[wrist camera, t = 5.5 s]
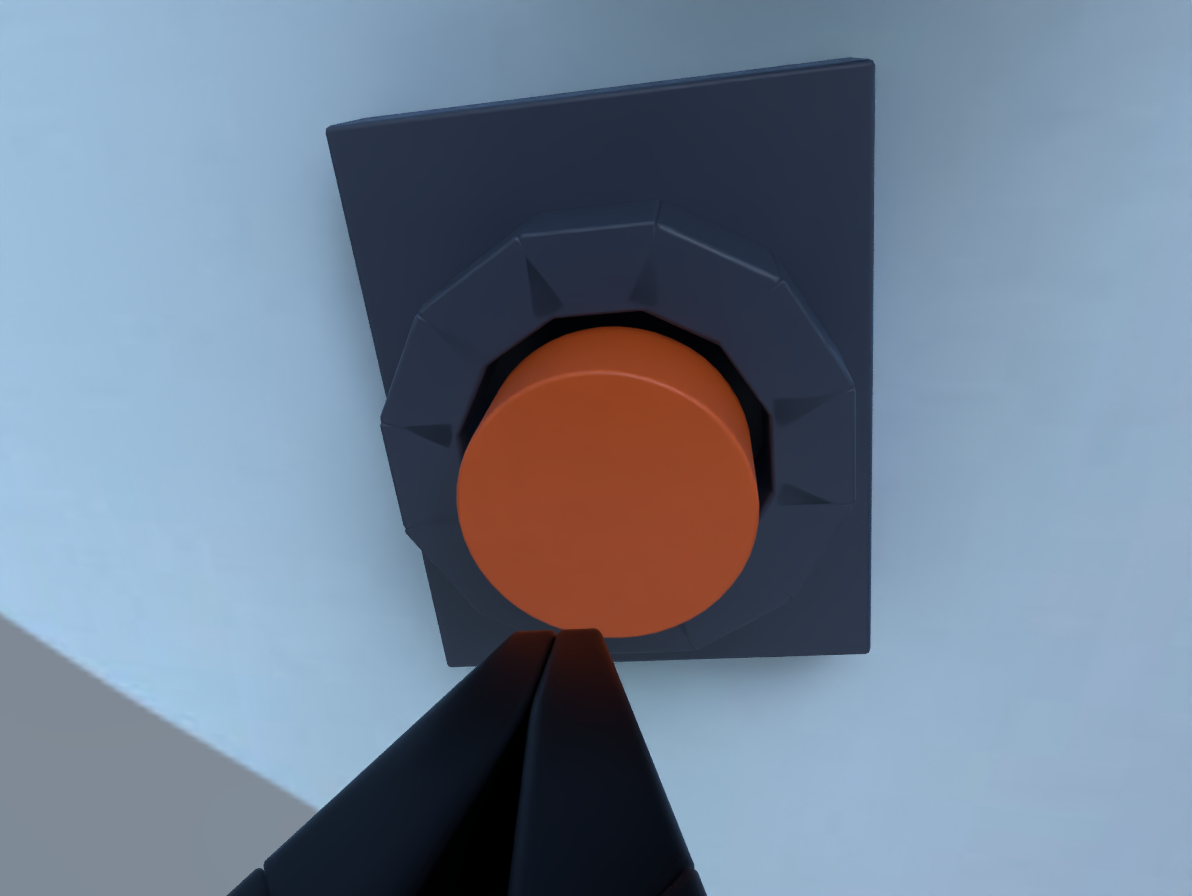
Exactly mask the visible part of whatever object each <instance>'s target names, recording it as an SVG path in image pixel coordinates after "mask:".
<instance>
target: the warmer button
mask: <svg viewBox="0 0 1192 896" xmlns="http://www.w3.org/2000/svg"><path fill="white" fill-rule="evenodd" d="M457 511H458V518H459V523H460V527H461V530H462V534H463V537H464V540H465V542H466V545H467V547H468V549H469V552H470V554H471V556H472V557H473V559H474V561H475V562H476V564H477V566H478V568H479V569H480V571H481V572H482V573H483V574H484V576H485V577H486V578H487V580H488V581H489V582H490V583H491V585H492V586H493V587H494V588H495V589H496V590H497V591H498V592H499V593H500V594H501V595H502V596H503V597H505V598H506V599H507V600H509V601H510V602H511V603H512V604H514V605H515V606H516V607H517V608H519V609H521V610H522V611H524V612H525V613H527V614H529V615H530V616H532V617H534V618H536V619H538V620H540V621H542V622H544V623H546V624H548V625H550V626H553V627H556V628H559V629H562V630H564V629H586V628H596V629H598V630H599V631H600V632H601V633H602V636H603V638H628V637H639V636H644V635H649V634H654V633H658V632H661V631H664V630H667V629H670V628H673V627H676V626H678V625H680V624H682V623H684V622H686V621H689V620H691V619H692V618H694V617H695V616H697V615H699V614H700V613H702V612H704V611H705V610H706V609H708V608H709V607H710V606H711V605H713V604H714V603H715V602H716V601H717V600H719V599H720V598H721V597H722V595H723V594H724V593H725V592H726V591H727V590H728V589H729V588H730V587H731V586H732V585H733V583H734V582H735V580H736V579H737V578H738V576H739V575H740V573H741V572H742V570H743V568H744V566H745V564H746V562H747V561H748V559H749V557H750V554H751V551H752V548H753V545H754V542H755V539H756V535H757V529H758V523H759V497H758V489H757V482H756V475H755V467H754V460H753V453H752V446H751V439H750V432H749V427H748V424H747V420H746V416H745V413H744V411H743V409H742V406H741V404H740V402H739V400H738V398H737V396H736V394H735V393H734V391H733V389H732V388H731V386H730V385H729V383H728V382H727V381H726V380H725V378H724V377H723V376H722V375H721V374H720V372H719V371H718V370H717V369H716V368H715V367H714V366H713V365H712V364H711V363H709V362H708V361H707V360H706V359H705V358H704V357H702V356H701V355H700V354H698V353H697V352H695V351H694V350H693V349H691V348H690V347H688V346H686V345H684V344H682V343H680V342H678V341H676V340H674V339H672V338H670V337H667V336H664V335H662V334H659V333H656V332H652V331H648V330H643V329H639V328H631V327H622V326H609V327H596V328H589V329H583V330H579V331H576V332H572V333H569V334H565V335H563V336H561V337H558V338H556V339H554V340H552V341H549V342H548V343H546V344H544V345H543V346H541V347H539V348H538V349H536V350H535V351H533V352H532V353H531V354H530V355H528V356H527V357H526V358H525V359H523V360H522V361H521V362H520V363H519V364H518V365H517V366H516V368H515V369H514V370H513V371H512V372H511V373H510V374H509V376H508V377H507V379H506V380H505V381H504V383H503V384H502V386H501V387H500V389H499V391H498V392H497V394H496V396H495V398H494V399H493V401H492V403H491V405H490V407H489V408H488V410H487V412H486V414H485V415H484V417H483V419H482V421H481V422H480V424H479V426H478V428H477V429H476V431H475V433H474V435H473V436H472V438H471V440H470V442H469V444H468V447H467V449H466V451H465V453H464V456H463V459H462V462H461V465H460V469H459V475H458V481H457Z"/></svg>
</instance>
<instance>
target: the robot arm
mask: <svg viewBox="0 0 1192 896" xmlns="http://www.w3.org/2000/svg"><path fill="white" fill-rule="evenodd" d="M227 896H707V894H706V892H705V889H704V887H703V884H702V882H701V879H700V877H699V874H698V872H697V871H696V870H695V869H694V863H693V861H692V858H691V856H690V853H689V851H688V848H687V846H686V843H685V841H684V838H683V836H682V833H681V831H680V828H679V826H678V823H677V821H676V818H675V816H674V813H673V811H672V808H671V806H670V803H669V801H668V798H667V796H666V793H665V791H664V788H663V786H662V783H661V781H660V778H659V776H658V773H657V771H656V768H655V766H654V763H653V761H652V758H651V756H650V753H649V751H648V748H647V746H646V743H645V741H644V738H643V736H642V733H641V731H640V728H639V726H638V723H637V721H636V718H635V716H634V713H633V711H632V708H631V706H630V703H629V701H628V698H627V696H626V693H625V691H624V688H623V686H622V683H621V681H620V678H619V676H618V673H617V671H616V668H615V666H614V663H613V661H612V658H611V656H610V653H609V651H608V648H607V646H606V643H605V641H604V638H603V636H602V633H601V632H600V631H599V630H598V629H596V628H586V629H564V630H561V631H560V632H558V634H556V633H555V632H554V631H552V630H535V631H518V632H515V633H513V634H512V635H511V636H509V637H508V638H507V639H506V640H505V641H504V642H503V643H502V644H501V645H500V646H498V647H497V648H496V649H495V650H494V651H493V652H492V653H491V654H490V655H489V656H488V657H486V658H485V659H484V660H483V661H482V662H481V663H480V664H479V665H478V666H477V667H476V668H475V669H473V670H472V671H471V672H470V673H469V674H468V675H467V676H466V677H465V678H464V679H463V680H461V681H460V682H459V683H458V684H457V685H456V686H455V687H454V688H453V689H452V690H451V691H449V692H448V693H447V694H446V695H445V696H444V697H443V698H442V699H441V700H440V701H439V702H437V703H436V704H435V705H434V706H433V707H432V708H431V709H430V710H429V711H428V712H427V713H426V714H424V715H423V716H422V717H421V718H420V719H419V720H418V721H417V722H416V723H415V724H414V725H412V726H411V727H410V728H409V729H408V730H407V731H406V732H405V733H404V734H403V735H402V736H400V737H399V738H398V739H397V740H396V741H395V742H394V743H393V744H392V745H391V746H390V747H389V748H387V749H386V750H385V751H384V752H383V753H382V754H381V755H380V756H379V757H378V758H377V759H375V760H374V761H373V762H372V763H371V764H370V765H369V766H368V767H367V768H366V769H365V770H363V771H362V772H361V773H360V774H359V775H358V776H357V777H356V778H355V779H354V780H353V781H351V782H350V783H349V784H348V785H347V786H346V787H345V788H344V789H343V790H342V791H341V792H340V793H338V794H337V795H336V796H335V797H334V798H333V799H332V800H331V801H330V802H329V803H328V804H326V805H325V806H324V807H323V808H322V809H321V810H320V811H319V812H318V813H317V814H316V815H314V816H313V817H312V818H311V819H310V820H309V821H308V822H307V823H306V824H305V825H304V826H303V827H301V828H300V829H299V830H298V831H297V832H296V833H295V834H294V835H293V836H292V837H291V838H290V839H288V840H287V841H286V842H285V843H284V844H283V845H282V846H281V847H280V848H279V849H277V851H275V852H274V853H273V854H272V855H271V856H270V857H269V858H268V859H267V860H266V861H265V862H264V870H263V869H261V868H258V869H255V870H254V871H253V872H252V873H251V874H250V875H249V876H248V877H247V878H246V879H244V880H243V881H242V882H241V883H240V884H239V885H238V886H237V887H236V888H235V889H233V890H232V891H231V892H230V893H229V894H228V895H227Z"/></svg>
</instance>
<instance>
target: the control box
mask: <svg viewBox="0 0 1192 896" xmlns="http://www.w3.org/2000/svg"><path fill="white" fill-rule="evenodd" d="M326 136H327V141H328V145H329V150H330V154H331V158H332V163H333V167H334V171H335V176H336V180H337V184H338V189H339V193H340V198H341V202H342V206H343V211H344V215H345V219H346V224H347V228H348V232H349V237H350V241H351V246H352V250H353V254H354V259H355V263H356V267H357V272H358V276H359V280H360V285H361V289H362V294H363V298H364V302H365V307H366V311H367V315H368V320H369V324H370V328H371V333H372V337H373V341H374V346H375V350H376V355H377V359H378V363H379V368H380V372H381V376H382V381H383V385H384V389H385V394H386V398H387V399H386V402H385V404H384V407H383V410H382V413H381V416H380V417H381V425H380V427H381V431H382V436H383V440H384V444H385V448H386V453H387V457H388V461H389V465H390V470H391V474H392V478H393V482H394V487H395V491H396V495H397V499H398V504H399V508H400V512H401V516H402V521H403V525H404V527H405V528H406V529H405V532H406V534H407V535H408V536H409V537H410V538H411V539H412V540H413V541H414V543H415V544H416V545H417V546H418V547H419V548H420V549H421V551H422V555H423V560H424V564H425V568H426V573H427V577H428V581H429V586H430V590H431V595H432V599H433V603H434V608H435V612H436V616H437V621H438V625H439V629H440V634H441V638H442V643H443V647H444V651H445V656H446V660H447V664H448V666H450V667H469V666H478V665H479V664H480V663H481V662H482V661H483V660H484V659H485V658H486V657H488V656H489V655H490V654H491V653H492V652H493V651H494V650H495V649H496V648H497V647H498V646H500V645H501V644H502V643H503V642H504V641H505V640H506V639H507V638H508V637H509V636H511V635H512V634H513V633H515V632H518V631H535V630H552V631H554V632H555V633H556V634H558V632H560V631H561V630H562V629H559V628H556V627H553V626H550V625H548V624H546V623H544V622H542V621H540V620H538V619H536V618H534V617H532V616H530V615H529V614H527V613H525V612H524V611H522V610H521V609H519V608H517V607H516V606H515V605H514V604H512V603H511V602H510V601H509V600H507V599H506V598H505V597H503V596H502V595H501V594H500V593H499V592H498V591H497V590H496V589H495V588H494V587H493V586H492V585H491V583H490V582H489V581H488V580H487V578H486V577H485V576H484V574H483V573H482V572H481V571H480V569H479V568H478V566H477V564H476V562H475V561H474V559H473V557H472V556H471V554H470V552H469V549H468V547H467V545H466V542H465V540H464V537H463V534H462V530H461V527H460V523H459V518H458V511H457V481H458V475H459V469H460V465H461V462H462V459H463V456H464V453H465V451H466V449H467V447H468V444H469V442H470V440H471V438H472V436H473V435H474V433H475V431H476V429H477V428H478V426H479V424H480V422H481V421H482V419H483V417H484V415H485V414H486V412H487V410H488V408H489V407H490V405H491V403H492V401H493V399H494V398H495V396H496V394H497V392H498V391H499V389H500V387H501V386H502V384H503V383H504V381H505V380H506V379H507V377H508V376H509V374H510V373H511V372H512V371H513V370H514V369H515V368H516V366H517V365H518V364H519V363H520V362H521V361H522V360H523V359H525V358H526V357H527V356H528V355H530V354H531V353H532V352H533V351H535V350H536V349H538V348H539V347H541V346H543V345H544V344H546V343H548V342H549V341H552V340H554V339H556V338H558V337H561V336H563V335H565V334H569V333H572V332H576V331H579V330H583V329H589V328H596V327H609V326H622V327H631V328H639V329H643V330H648V331H652V332H656V333H659V334H662V335H664V336H667V337H670V338H672V339H674V340H676V341H678V342H680V343H682V344H684V345H686V346H688V347H690V348H691V349H693V350H694V351H695V352H697V353H698V354H700V355H701V356H702V357H704V358H705V359H706V360H707V361H708V362H709V363H711V364H712V365H713V366H714V367H715V368H716V369H717V370H718V371H719V372H720V374H721V375H722V376H723V377H724V378H725V380H726V381H727V382H728V383H729V385H730V386H731V388H732V389H733V391H734V393H735V394H736V396H737V398H738V400H739V402H740V404H741V406H742V409H743V411H744V413H745V416H746V420H747V424H748V427H749V432H750V439H751V446H752V453H753V460H754V467H755V475H756V482H757V489H758V497H759V523H758V529H757V535H756V539H755V542H754V545H753V548H752V551H751V554H750V557H749V559H748V561H747V562H746V564H745V566H744V568H743V570H742V572H741V573H740V575H739V576H738V578H737V579H736V580H735V582H734V583H733V585H732V586H731V587H730V588H729V589H728V590H727V591H726V592H725V593H724V594H723V595H722V597H721V598H720V599H719V600H717V601H716V602H715V603H714V604H713V605H711V606H710V607H709V608H708V609H706V610H705V611H704V612H702V613H700V614H699V615H697V616H695V617H694V618H692V619H691V620H689V621H686V622H684V623H682V624H680V625H678V626H676V627H673V628H670V629H667V630H664V631H661V632H658V633H654V634H649V635H644V636H639V637H628V638H604V641H605V643H606V646H607V648H608V651H609V653H610V656H611V658H612V661H613V662H625V661H657V660H688V659H720V658H751V657H782V656H814V655H845V654H866V653H869V650H870V628H871V507H872V386H873V264H874V143H875V64H874V61H873V60H870V59H864V58H851V57H850V58H842V59H834V60H826V61H818V62H810V63H802V64H794V65H786V66H778V67H770V68H762V69H754V70H746V71H738V72H730V73H722V74H714V75H706V76H698V77H690V78H682V79H674V80H666V81H658V82H650V83H642V84H634V85H626V86H618V87H610V88H602V89H594V90H586V91H578V92H570V93H562V94H554V95H546V96H538V97H530V98H522V99H514V100H506V101H498V102H490V103H482V104H474V105H466V106H458V107H450V108H442V109H434V110H426V111H418V112H410V113H402V114H394V115H386V116H378V117H370V118H363V119H358V120H354V121H349V122H345V123H340V124H336V125H331V126H329V127H328V128H326Z"/></svg>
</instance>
